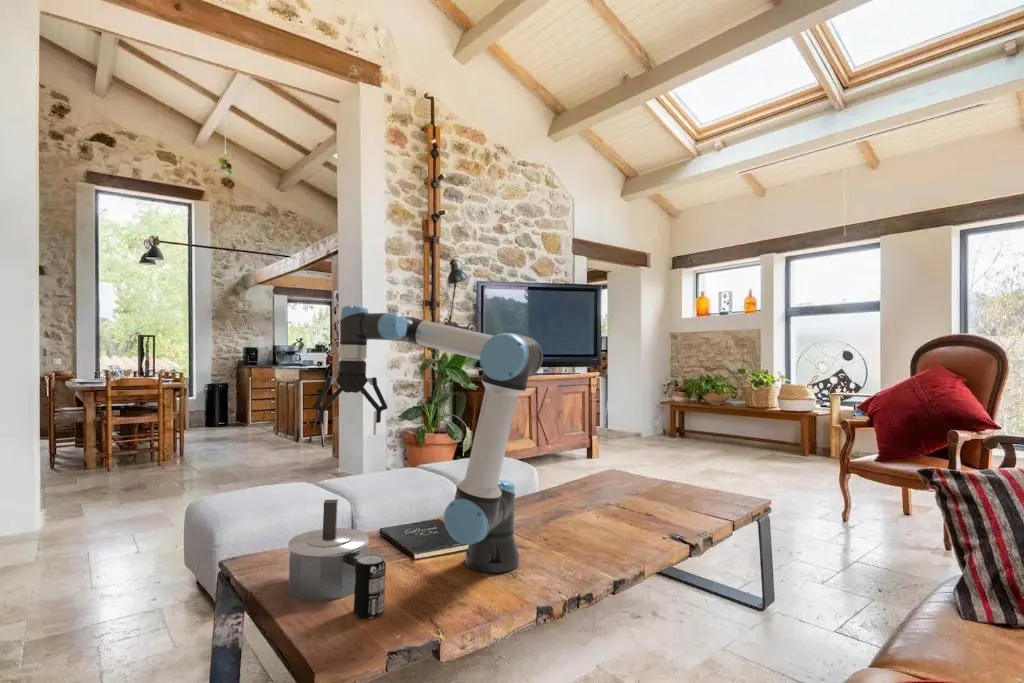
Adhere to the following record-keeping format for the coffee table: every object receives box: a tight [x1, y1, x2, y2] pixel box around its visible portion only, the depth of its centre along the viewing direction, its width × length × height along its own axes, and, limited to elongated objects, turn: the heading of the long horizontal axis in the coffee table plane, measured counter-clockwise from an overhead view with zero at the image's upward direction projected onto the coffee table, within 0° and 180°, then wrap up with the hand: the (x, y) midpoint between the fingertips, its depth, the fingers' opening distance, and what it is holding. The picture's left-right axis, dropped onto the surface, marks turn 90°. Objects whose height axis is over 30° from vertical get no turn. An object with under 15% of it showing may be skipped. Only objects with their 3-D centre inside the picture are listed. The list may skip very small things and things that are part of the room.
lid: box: [287, 499, 370, 558], centre depth 135 cm, size 19×19×11 cm
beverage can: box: [353, 553, 387, 620], centre depth 121 cm, size 7×7×12 cm
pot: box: [287, 545, 368, 602], centre depth 135 cm, size 24×18×10 cm
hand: (350, 434), depth 155 cm, fingers open, 13 cm apart
